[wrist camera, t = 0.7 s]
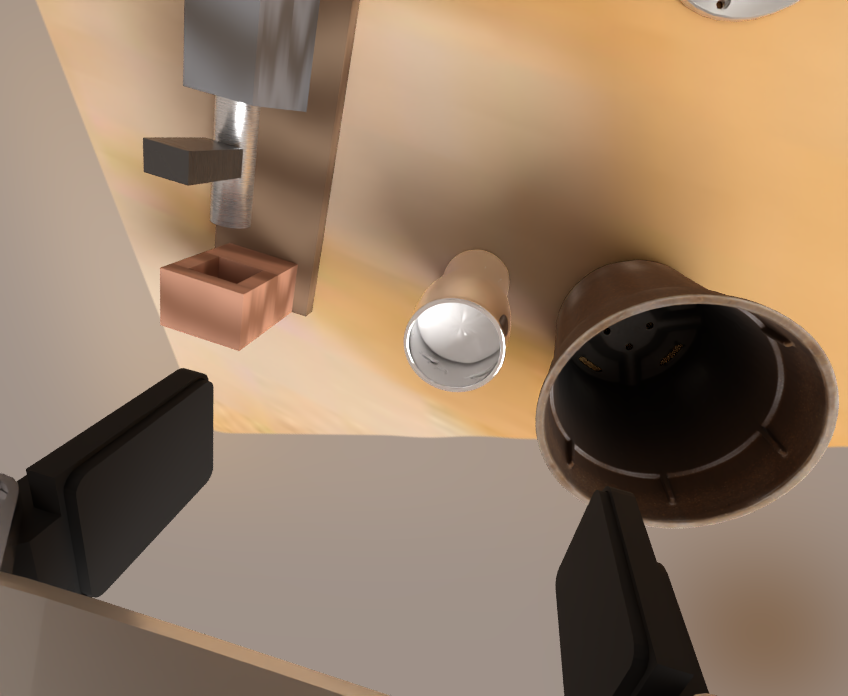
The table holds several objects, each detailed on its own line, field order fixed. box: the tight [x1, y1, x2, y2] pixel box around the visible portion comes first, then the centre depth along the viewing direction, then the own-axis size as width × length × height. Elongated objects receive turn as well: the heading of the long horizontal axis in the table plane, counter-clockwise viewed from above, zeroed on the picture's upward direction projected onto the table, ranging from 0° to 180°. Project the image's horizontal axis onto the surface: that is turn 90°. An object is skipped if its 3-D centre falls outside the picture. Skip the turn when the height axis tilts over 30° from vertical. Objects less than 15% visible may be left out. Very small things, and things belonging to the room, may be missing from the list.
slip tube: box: [143, 95, 260, 229], centre depth 31 cm, size 19×3×9 cm, turn 166°
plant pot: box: [536, 260, 839, 528], centre depth 35 cm, size 16×16×16 cm
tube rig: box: [160, 0, 360, 351], centre depth 37 cm, size 27×10×11 cm, turn 166°
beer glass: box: [404, 249, 511, 392], centre depth 36 cm, size 7×7×15 cm
